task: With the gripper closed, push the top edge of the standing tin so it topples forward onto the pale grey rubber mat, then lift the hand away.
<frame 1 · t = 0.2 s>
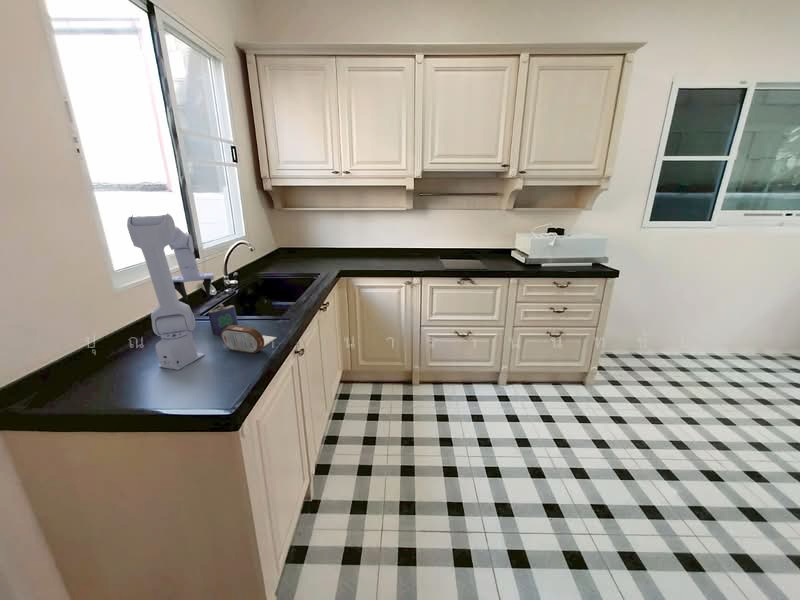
hand: (197, 298, 129), 11 cm above the table, tool pointing down, fingers open, 7 cm apart
flask: (226, 331, 125), on the table
tin: (244, 351, 109), on the table
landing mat: (256, 341, 115), on the table
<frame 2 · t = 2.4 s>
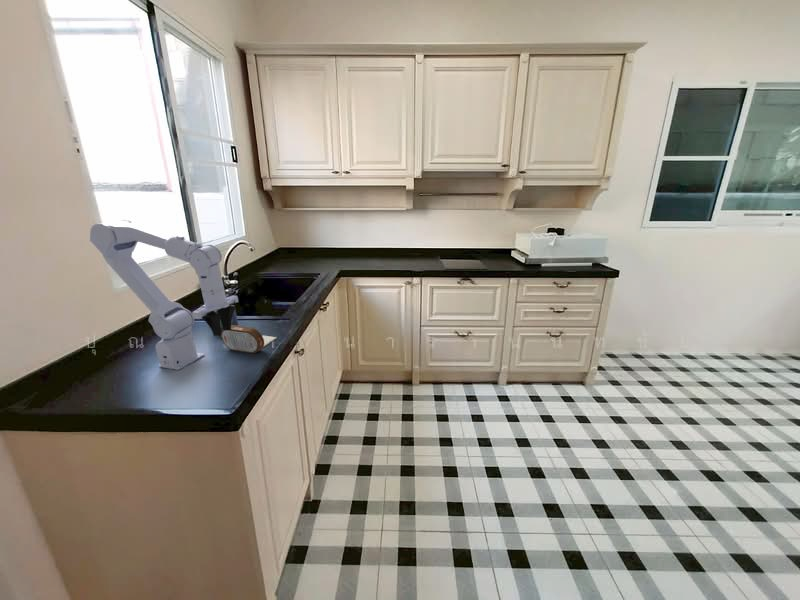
hand: (222, 332, 100), 9 cm above the table, tool pointing down, fingers open, 3 cm apart
nothing on the table moved.
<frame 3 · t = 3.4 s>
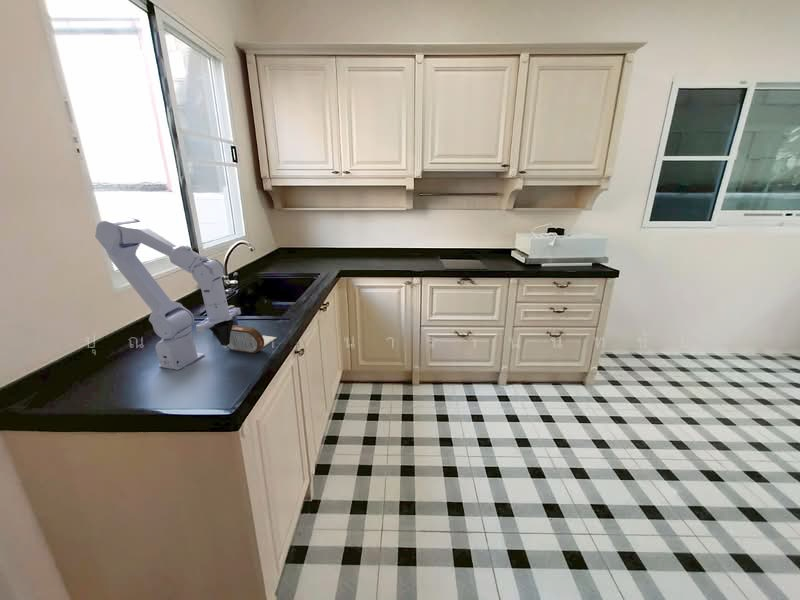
hand: (225, 344, 102), 5 cm above the table, tool pointing down, fingers closed
nothing on the table moved.
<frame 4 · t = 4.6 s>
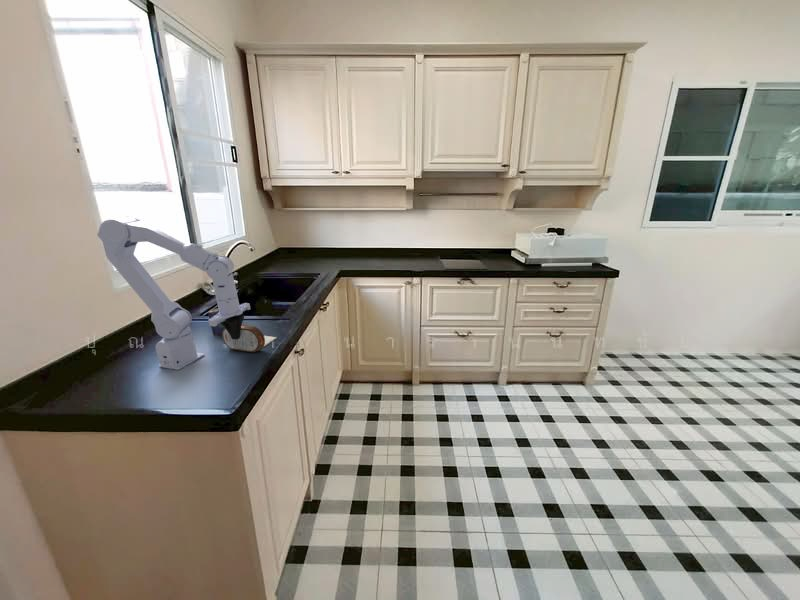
hand: (235, 338, 106), 5 cm above the table, tool pointing down, fingers closed
nothing on the table moved.
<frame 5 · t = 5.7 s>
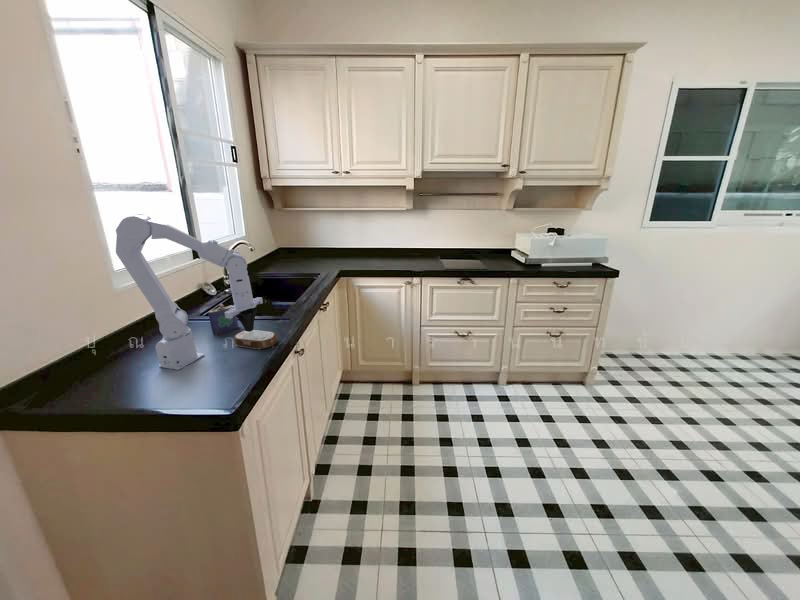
hand: (249, 330, 111), 5 cm above the table, tool pointing down, fingers closed
tin: (246, 343, 110), point 2 cm above the table, touching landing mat
everything else where it was.
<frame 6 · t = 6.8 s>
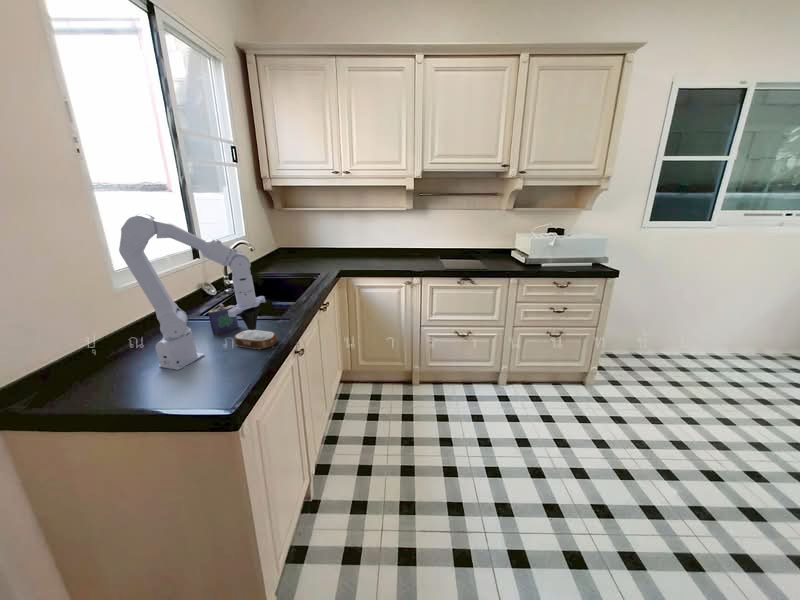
hand: (252, 329, 112), 5 cm above the table, tool pointing down, fingers closed
nothing on the table moved.
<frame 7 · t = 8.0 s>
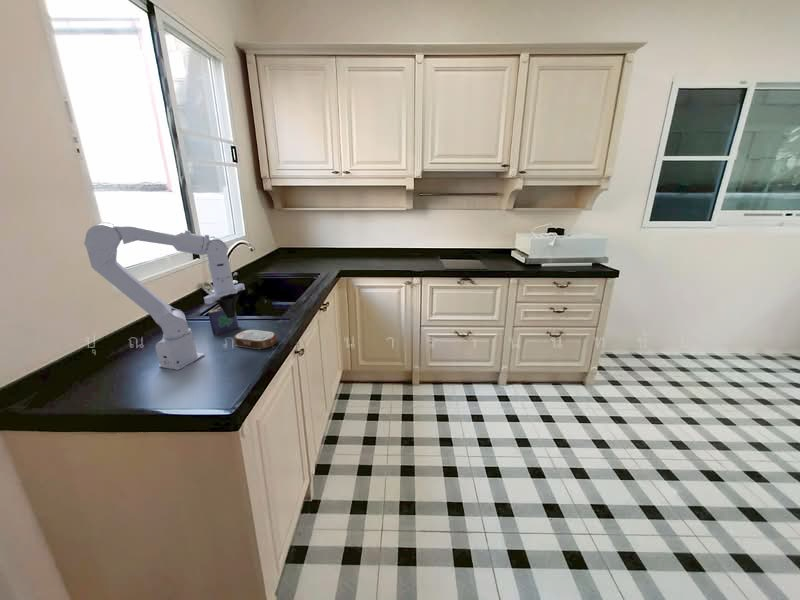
hand: (231, 317, 109), 10 cm above the table, tool pointing down, fingers closed
nothing on the table moved.
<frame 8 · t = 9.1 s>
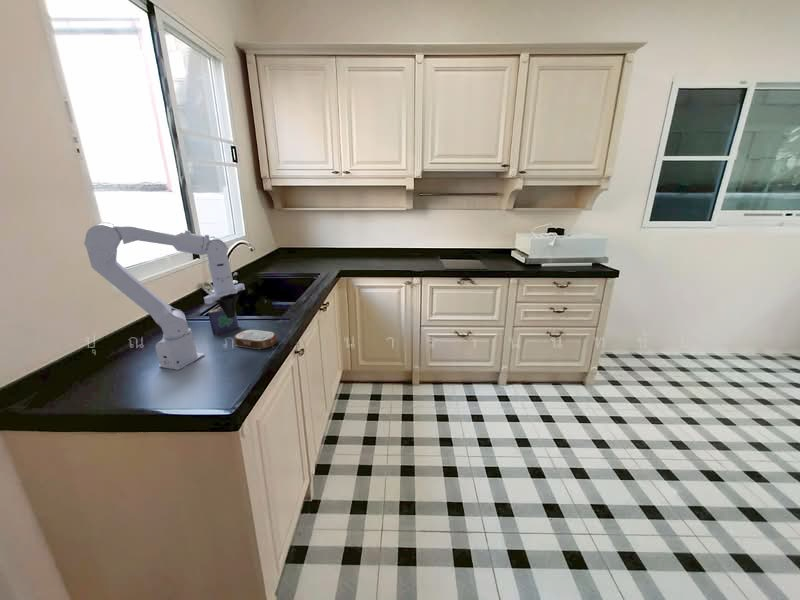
hand: (231, 317, 109), 10 cm above the table, tool pointing down, fingers closed
nothing on the table moved.
at the end: tin tilted 94°; tin inside the target area (2.2 cm from its centre), point 2.0 cm above the table; the gripper is holding nothing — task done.
